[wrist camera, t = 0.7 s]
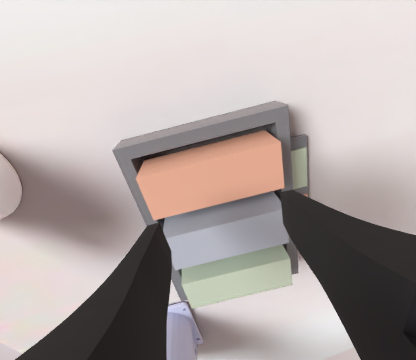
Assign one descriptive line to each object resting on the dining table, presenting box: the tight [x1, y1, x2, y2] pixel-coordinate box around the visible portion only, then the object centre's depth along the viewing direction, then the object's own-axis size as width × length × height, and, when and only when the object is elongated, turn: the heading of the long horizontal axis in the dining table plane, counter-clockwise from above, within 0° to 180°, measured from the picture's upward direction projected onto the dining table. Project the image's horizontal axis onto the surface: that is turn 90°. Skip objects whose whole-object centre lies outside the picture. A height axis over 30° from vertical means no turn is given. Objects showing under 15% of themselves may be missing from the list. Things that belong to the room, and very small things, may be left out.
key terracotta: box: [136, 130, 284, 220], centre depth 17 cm, size 4×10×3 cm, turn 103°
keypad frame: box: [112, 101, 298, 301], centre depth 21 cm, size 18×13×3 cm
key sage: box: [182, 245, 292, 309], centre depth 22 cm, size 4×10×3 cm, turn 103°
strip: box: [290, 134, 309, 197], centre depth 22 cm, size 11×2×1 cm, turn 13°
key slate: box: [163, 191, 289, 270], centre depth 19 cm, size 4×10×3 cm, turn 103°
